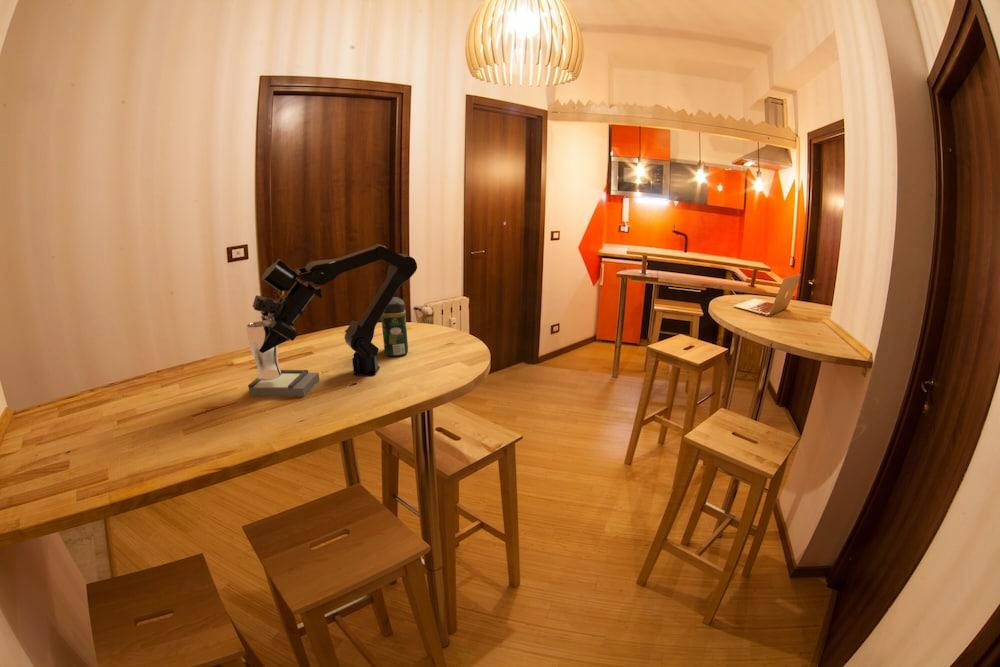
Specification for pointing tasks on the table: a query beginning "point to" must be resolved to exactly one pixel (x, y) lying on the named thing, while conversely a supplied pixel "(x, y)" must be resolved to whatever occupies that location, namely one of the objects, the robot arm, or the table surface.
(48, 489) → the table surface
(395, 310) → the coffee jar
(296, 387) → the dock
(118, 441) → the table surface
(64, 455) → the table surface
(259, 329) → the beer glass
